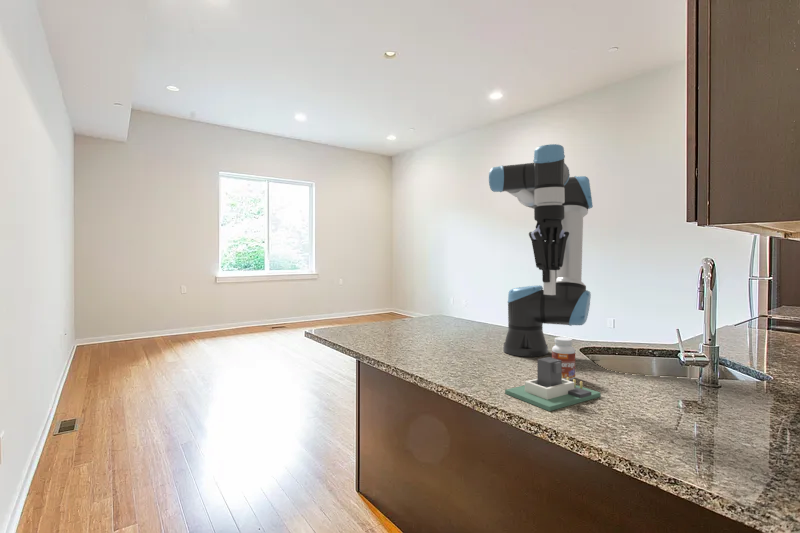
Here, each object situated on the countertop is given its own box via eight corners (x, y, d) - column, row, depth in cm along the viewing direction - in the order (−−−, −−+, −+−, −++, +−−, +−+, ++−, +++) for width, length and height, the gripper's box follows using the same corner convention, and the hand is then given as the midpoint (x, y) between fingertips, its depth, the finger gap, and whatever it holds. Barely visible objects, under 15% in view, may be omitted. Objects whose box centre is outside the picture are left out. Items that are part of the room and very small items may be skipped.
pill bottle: (557, 381, 118) (556, 341, 117) (548, 374, 124) (548, 336, 123) (579, 380, 118) (579, 340, 117) (569, 374, 124) (569, 336, 124)
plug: (548, 388, 109) (548, 357, 108) (564, 393, 104) (564, 361, 104) (537, 391, 107) (537, 359, 106) (553, 396, 102) (552, 363, 102)
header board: (554, 381, 117) (554, 369, 117) (600, 396, 105) (600, 382, 105) (505, 393, 108) (505, 379, 108) (549, 411, 96) (549, 395, 96)
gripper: (554, 207, 119) (555, 291, 120) (520, 205, 113) (521, 295, 114) (577, 204, 113) (577, 294, 114) (542, 203, 106) (543, 297, 107)
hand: (549, 294), depth 114 cm, fingers closed
